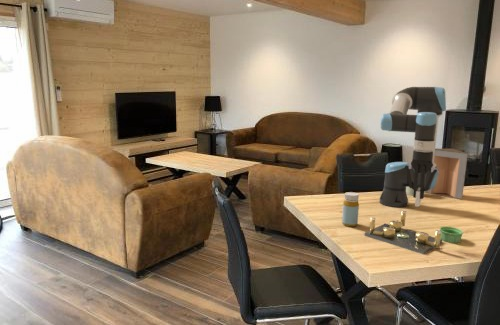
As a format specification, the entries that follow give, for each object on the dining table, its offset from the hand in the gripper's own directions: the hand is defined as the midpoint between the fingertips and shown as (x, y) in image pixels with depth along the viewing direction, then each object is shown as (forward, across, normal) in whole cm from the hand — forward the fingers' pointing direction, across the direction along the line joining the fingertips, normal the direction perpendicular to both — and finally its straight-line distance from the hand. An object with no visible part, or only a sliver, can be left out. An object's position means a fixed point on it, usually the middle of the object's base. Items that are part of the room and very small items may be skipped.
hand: (417, 205), depth 165 cm
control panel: (+15, -4, -3) cm, 16 cm away
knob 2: (+14, -9, +6) cm, 18 cm away
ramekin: (+16, +12, +11) cm, 22 cm away
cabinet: (+17, -9, +88) cm, 90 cm away
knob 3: (+14, +6, -4) cm, 16 cm away
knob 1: (+14, -11, -8) cm, 19 cm away
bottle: (+16, -29, -2) cm, 33 cm away
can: (+17, -25, +76) cm, 81 cm away
